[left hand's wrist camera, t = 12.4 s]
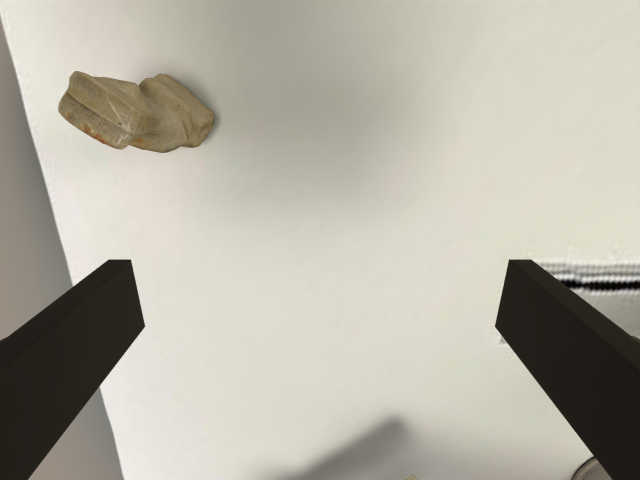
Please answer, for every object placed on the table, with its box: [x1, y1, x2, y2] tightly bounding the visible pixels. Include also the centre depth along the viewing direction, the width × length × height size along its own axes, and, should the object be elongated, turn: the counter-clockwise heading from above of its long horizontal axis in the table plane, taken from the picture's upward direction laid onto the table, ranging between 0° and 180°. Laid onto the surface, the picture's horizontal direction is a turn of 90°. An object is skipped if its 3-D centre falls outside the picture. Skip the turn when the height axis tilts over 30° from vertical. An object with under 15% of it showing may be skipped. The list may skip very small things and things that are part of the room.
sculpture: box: [58, 71, 215, 153], centre depth 31 cm, size 6×7×15 cm
